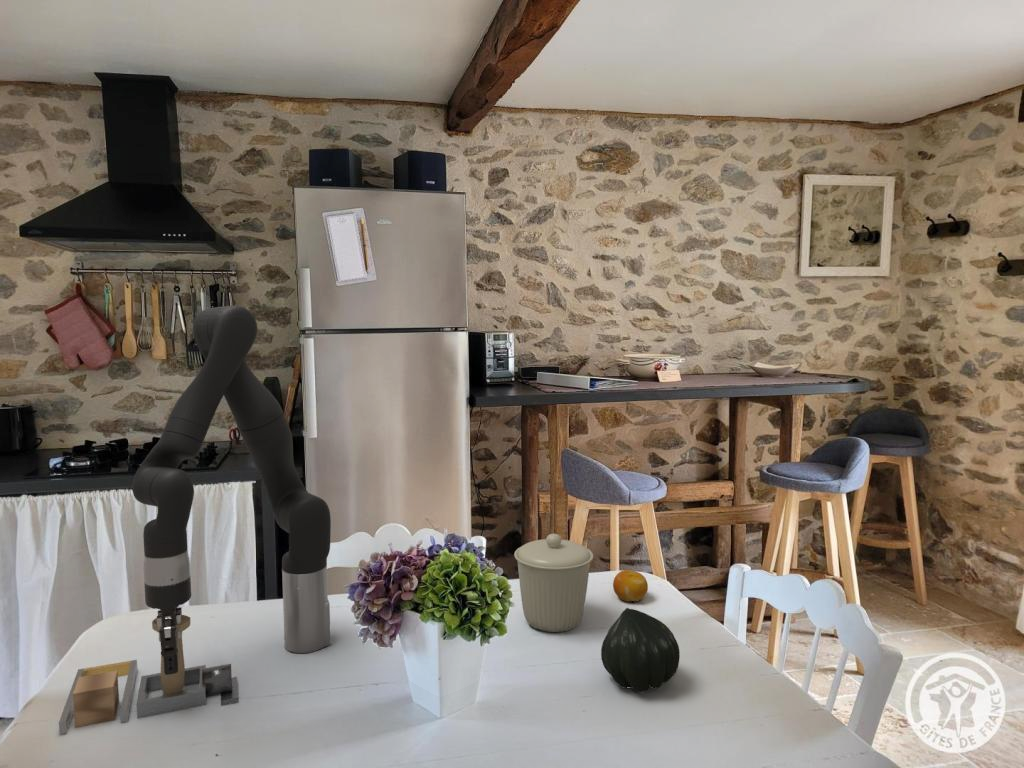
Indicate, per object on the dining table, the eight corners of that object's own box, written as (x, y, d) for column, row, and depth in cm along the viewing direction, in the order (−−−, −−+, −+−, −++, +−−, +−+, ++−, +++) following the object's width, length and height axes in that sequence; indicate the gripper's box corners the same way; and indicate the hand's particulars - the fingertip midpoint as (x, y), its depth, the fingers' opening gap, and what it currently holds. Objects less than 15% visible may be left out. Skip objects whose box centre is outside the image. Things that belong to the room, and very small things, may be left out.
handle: (181, 707, 128) (179, 627, 126) (148, 704, 129) (146, 624, 127) (197, 693, 133) (195, 615, 131) (165, 690, 134) (163, 613, 132)
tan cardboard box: (119, 701, 129) (117, 670, 129) (115, 719, 124) (113, 686, 123) (80, 709, 127) (78, 677, 126) (74, 727, 121) (72, 694, 121)
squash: (703, 670, 133) (671, 593, 140) (634, 690, 127) (604, 608, 135) (670, 690, 143) (641, 617, 151) (605, 709, 138) (579, 632, 146)
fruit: (639, 596, 172) (635, 563, 176) (608, 601, 176) (605, 569, 180) (655, 602, 178) (651, 570, 182) (625, 607, 182) (621, 575, 186)
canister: (596, 641, 156) (597, 547, 154) (513, 640, 156) (513, 547, 154) (588, 606, 174) (589, 522, 172) (514, 606, 174) (514, 522, 172)
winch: (236, 679, 140) (235, 652, 139) (238, 705, 131) (237, 676, 130) (142, 696, 133) (141, 668, 133) (137, 725, 124) (136, 695, 124)
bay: (137, 676, 141) (136, 659, 140) (127, 728, 123) (126, 709, 123) (79, 686, 137) (78, 669, 136) (60, 742, 119) (58, 722, 119)
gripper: (189, 587, 123) (193, 681, 125) (191, 560, 136) (195, 645, 138) (140, 594, 120) (145, 690, 122) (147, 566, 133) (152, 653, 135)
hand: (172, 666), depth 130 cm, fingers open, 4 cm apart
